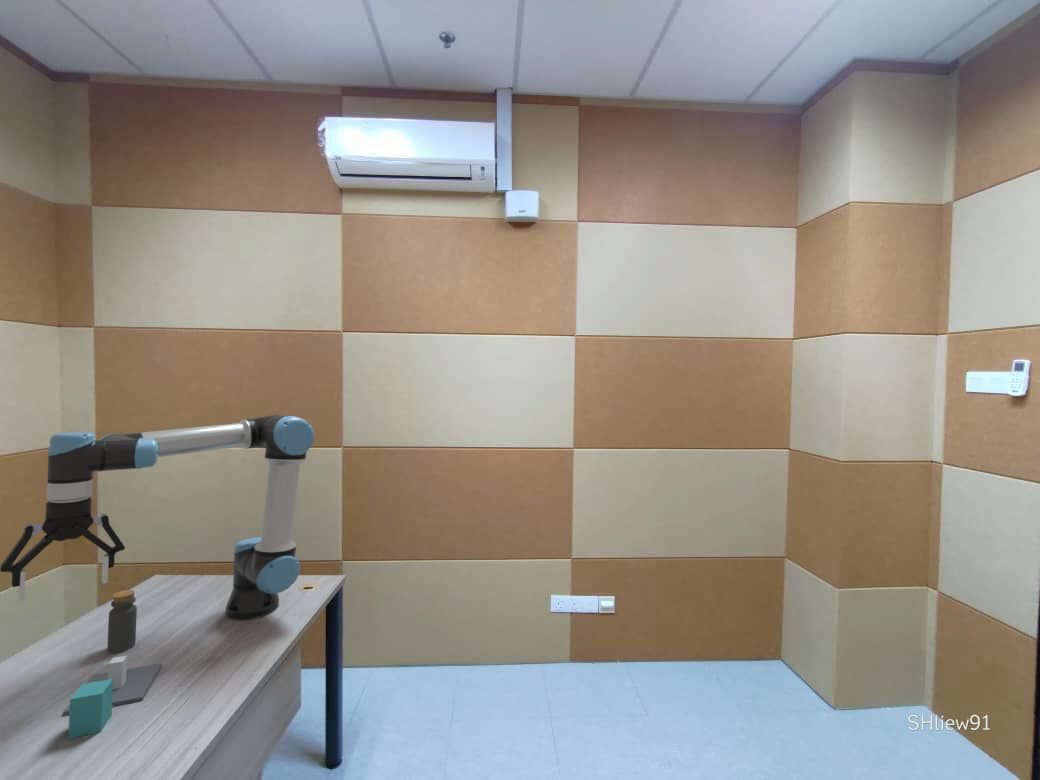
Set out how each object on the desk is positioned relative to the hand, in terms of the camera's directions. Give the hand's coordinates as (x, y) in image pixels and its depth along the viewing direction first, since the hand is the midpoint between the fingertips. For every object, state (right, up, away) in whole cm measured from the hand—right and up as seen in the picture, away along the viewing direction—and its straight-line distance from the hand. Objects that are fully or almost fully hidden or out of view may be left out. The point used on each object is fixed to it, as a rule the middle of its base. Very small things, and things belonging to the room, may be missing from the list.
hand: (65, 590), depth 104 cm
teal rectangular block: (+14, -25, -8) cm, 30 cm away
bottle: (-5, -25, +20) cm, 33 cm away
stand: (+9, -25, +3) cm, 27 cm away
